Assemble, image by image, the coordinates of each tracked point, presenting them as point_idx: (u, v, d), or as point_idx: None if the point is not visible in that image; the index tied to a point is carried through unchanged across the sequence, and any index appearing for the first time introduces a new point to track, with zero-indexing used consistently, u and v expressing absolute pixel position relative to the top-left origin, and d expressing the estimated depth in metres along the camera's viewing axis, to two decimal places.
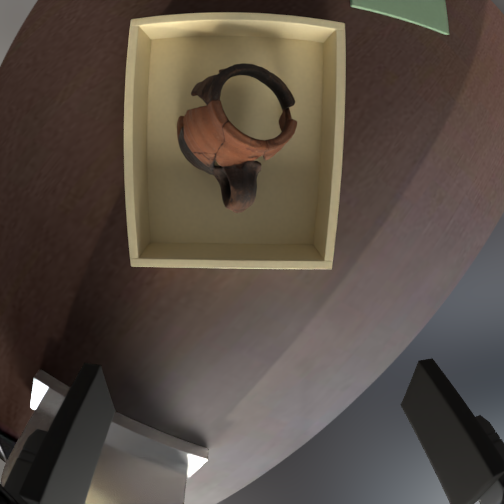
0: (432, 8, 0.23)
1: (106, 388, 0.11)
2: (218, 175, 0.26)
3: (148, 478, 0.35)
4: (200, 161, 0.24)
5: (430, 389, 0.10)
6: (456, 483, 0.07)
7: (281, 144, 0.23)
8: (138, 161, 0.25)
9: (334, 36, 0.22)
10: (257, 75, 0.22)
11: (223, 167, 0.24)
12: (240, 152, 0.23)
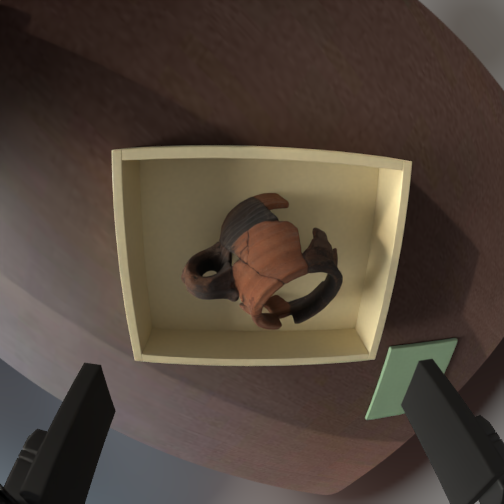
0: (388, 406, 0.35)
1: (106, 388, 0.11)
2: (220, 250, 0.24)
3: None
4: (237, 237, 0.23)
5: (430, 389, 0.10)
6: (456, 483, 0.07)
7: (256, 323, 0.23)
8: None
9: (362, 350, 0.27)
10: (327, 292, 0.24)
11: (231, 268, 0.22)
12: (248, 289, 0.22)
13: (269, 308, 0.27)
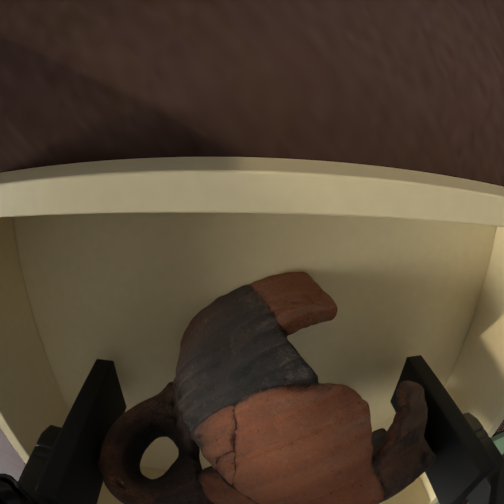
0: None
1: (118, 384, 0.12)
2: (174, 414, 0.09)
3: None
4: (207, 413, 0.08)
5: None
6: (443, 480, 0.07)
7: None
8: None
9: (420, 497, 0.12)
10: None
11: (197, 479, 0.07)
12: None
13: None
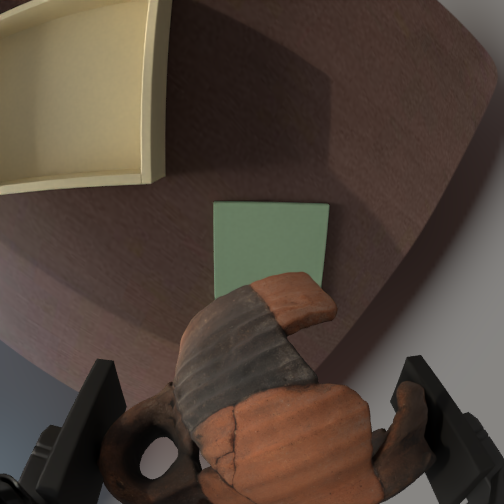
0: None
1: (118, 384, 0.12)
2: (174, 414, 0.09)
3: None
4: (207, 413, 0.08)
5: None
6: (443, 480, 0.07)
7: None
8: (35, 14, 0.17)
9: (136, 173, 0.22)
10: None
11: (196, 480, 0.07)
12: None
13: None
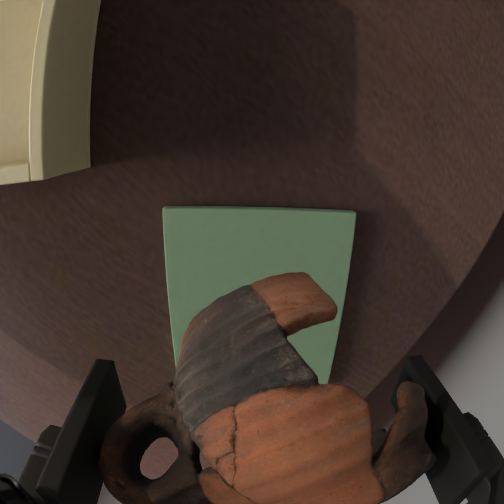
0: None
1: (118, 384, 0.12)
2: (174, 415, 0.09)
3: None
4: (207, 414, 0.08)
5: None
6: (443, 480, 0.07)
7: None
8: None
9: (28, 163, 0.11)
10: None
11: (197, 480, 0.07)
12: None
13: None
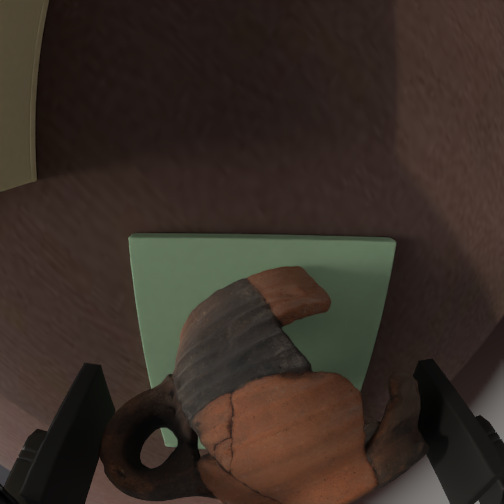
0: None
1: (106, 388, 0.11)
2: (173, 404, 0.10)
3: None
4: (205, 401, 0.08)
5: (431, 389, 0.10)
6: (456, 483, 0.07)
7: None
8: None
9: None
10: None
11: (195, 467, 0.08)
12: (236, 502, 0.08)
13: None
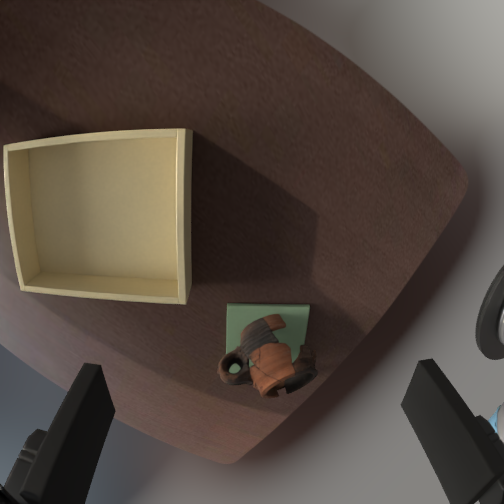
0: None
1: (106, 388, 0.11)
2: (241, 354, 0.37)
3: None
4: (252, 350, 0.35)
5: (430, 389, 0.10)
6: (456, 483, 0.07)
7: (263, 397, 0.36)
8: None
9: (174, 294, 0.33)
10: (308, 377, 0.37)
11: (249, 369, 0.35)
12: (259, 381, 0.35)
13: None
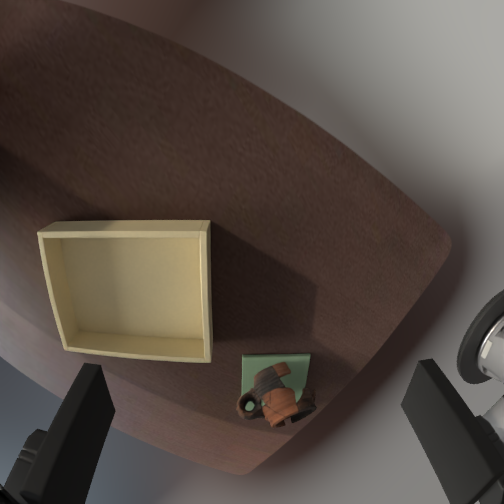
0: None
1: (106, 388, 0.11)
2: (255, 394, 0.44)
3: None
4: (264, 393, 0.42)
5: (431, 389, 0.10)
6: (456, 483, 0.07)
7: (273, 427, 0.43)
8: None
9: (201, 355, 0.40)
10: (309, 410, 0.44)
11: (261, 407, 0.42)
12: (270, 416, 0.42)
13: None
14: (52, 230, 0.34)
